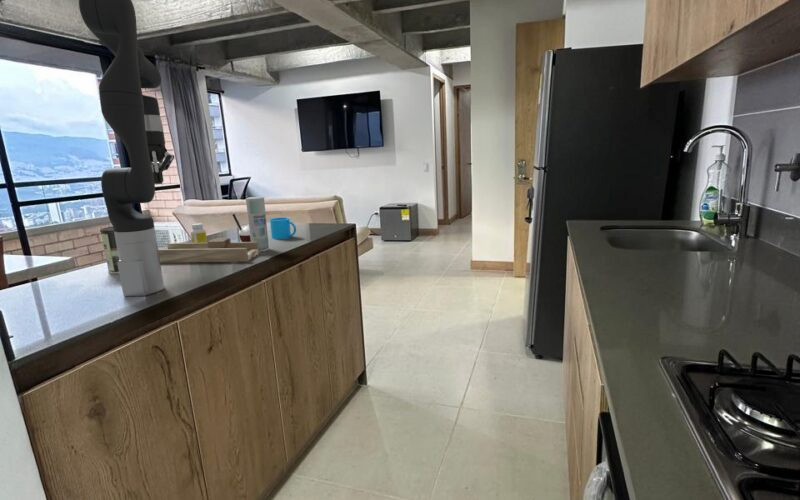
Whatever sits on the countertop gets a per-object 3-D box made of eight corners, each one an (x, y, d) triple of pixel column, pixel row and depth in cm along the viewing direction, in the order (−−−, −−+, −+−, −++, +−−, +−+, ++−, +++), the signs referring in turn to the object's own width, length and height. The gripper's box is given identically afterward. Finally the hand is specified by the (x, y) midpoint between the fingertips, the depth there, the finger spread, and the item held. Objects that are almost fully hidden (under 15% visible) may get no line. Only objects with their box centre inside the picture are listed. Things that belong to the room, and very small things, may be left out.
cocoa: (261, 242, 177) (259, 214, 175) (250, 245, 171) (249, 215, 169) (242, 240, 180) (241, 212, 178) (232, 242, 175) (230, 214, 172)
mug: (267, 238, 182) (265, 220, 180) (279, 235, 190) (277, 217, 188) (291, 240, 178) (289, 221, 176) (302, 236, 186) (300, 218, 184)
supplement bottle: (210, 246, 170) (207, 222, 167) (203, 250, 164) (199, 225, 162) (197, 246, 170) (194, 223, 168) (190, 250, 165) (186, 225, 163)
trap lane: (247, 261, 145) (245, 248, 144) (152, 262, 147) (149, 250, 146) (259, 253, 155) (258, 241, 154) (170, 255, 157) (168, 243, 156)
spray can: (255, 252, 157) (249, 199, 152) (249, 250, 162) (243, 197, 157) (272, 250, 161) (266, 197, 156) (265, 247, 166) (260, 196, 161)
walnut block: (224, 253, 148) (222, 241, 147) (209, 254, 148) (207, 241, 147) (231, 250, 153) (229, 238, 152) (216, 250, 153) (215, 238, 152)
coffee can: (152, 265, 142) (145, 224, 139) (127, 274, 133) (119, 230, 129) (126, 265, 145) (119, 224, 141) (100, 273, 135) (91, 230, 131)
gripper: (122, 130, 134) (132, 185, 138) (162, 129, 133) (171, 184, 137) (138, 131, 142) (146, 183, 146) (176, 130, 141) (183, 182, 145)
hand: (158, 183), depth 142 cm, fingers closed
